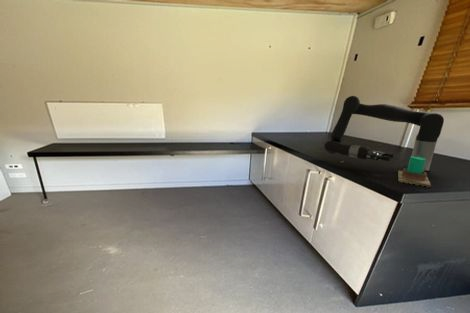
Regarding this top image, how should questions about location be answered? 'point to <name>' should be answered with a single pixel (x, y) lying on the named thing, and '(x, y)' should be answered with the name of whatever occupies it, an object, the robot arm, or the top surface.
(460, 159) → the top surface
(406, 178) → the cup stand
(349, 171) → the top surface
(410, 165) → the candle
